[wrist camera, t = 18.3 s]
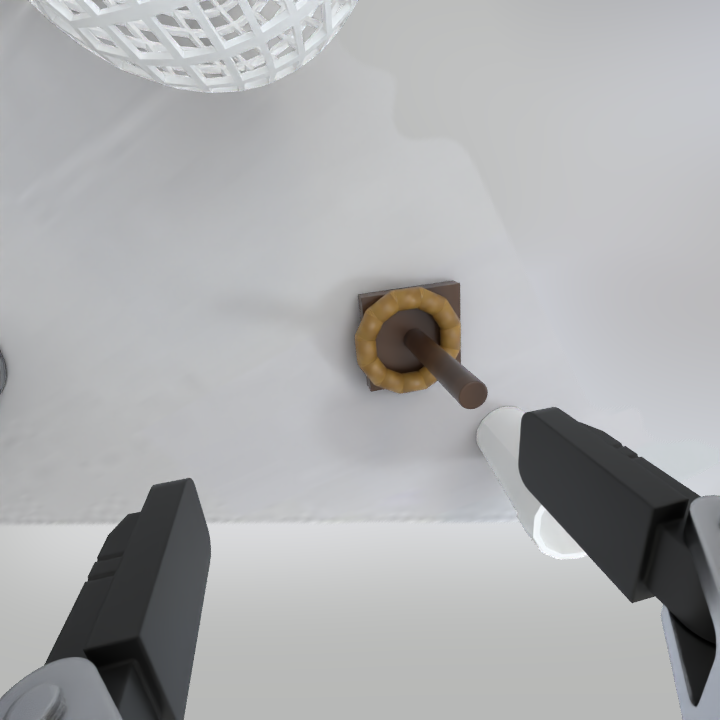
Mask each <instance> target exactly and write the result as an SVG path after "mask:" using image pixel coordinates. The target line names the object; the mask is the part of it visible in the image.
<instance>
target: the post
mask: <svg viewBox="0 0 720 720" xmlns="http://www.w3.org/2000/svg"><path fill="white" fill-rule="evenodd" d="M413 287H422V288H425V289H427V290H429V291H431V292H434V293H436V294H438V295H440V296H443V297H444V298H446V299H447V300H448V302H449V304H450V305H451V307H452V308H453V310H454V312H455V313H456V315H457V316H458V318H459V320H460V283H457V282H455V281H448V282H441V283H434V284H427V285H420V286H413ZM413 287H406V288H413ZM406 288H399V289H406ZM399 289H392V290H399ZM392 290H386V291H379V292H372V293H365V294H358V299H359V309H360V318H361V320H362V318H363V316H364V313H365V311H366V310H367V309H368V308H369V307H370V306H371V305H373V304H374V303H375V302H376V301H378V300H379V299H380V298H382V297H383V296H384V295H386V294H387V293H388V292H390V291H392ZM376 349H377V357H378V358H379V359H380V361H381V362H382V363H383V364H384V366H385V367H386V368H387V369H390V370H392V371H395V372H398V373H401V374H402V373H408V372H414V371H418V370H420V369H421V368H422V367H424V366H425V367H426V368H427V369H428V371H429V372H430V373H431V374H432V375H433V376H434V377H435V378H436V379H437V380H438V381H439V382H440V383H441V384H442V385H443V387H444V388H445V389H446V390H447V391H448V392H449V393H450V394H451V395H452V396H453V397H454V398H455V399H456V400H457V402H458V403H459V404H460V405H461V406H462V407H464V408H466V409H475V408H477V407H479V406H481V405H482V404H483V403H484V402H485V400H486V398H487V393H488V392H487V387H486V386H485V384H484V383H483V382H481V381H480V380H479V379H478V378H477V377H475V376H474V375H473V374H472V373H471V372H470V371H468V370H467V369H466V368H465V367H464V366H462V365H461V348H460V351H459V353H458V355H457V357H456V359H454V358H453V357H452V356H451V355H449V354H448V353H447V352H446V351H445V350H444V349H442V348H441V347H440V327H439V325H438V324H437V322H436V321H435V319H434V318H433V316H432V315H431V314H429V313H426V312H424V311H422V310H419V309H417V308H416V309H409V310H403V311H398V312H397V313H396V314H394V315H393V316H392V317H390V318H389V319H388V320H386V321H385V322H384V323H383V325H382V327H381V329H380V331H379V334H378V336H377V338H376ZM367 385H368V387H369V389H370V391H377V390H382V389H384V388H381V387H378V386H376V385H374V384H373V383H372V382H371V380H370V379H369V378H368V377H367Z"/></svg>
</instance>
